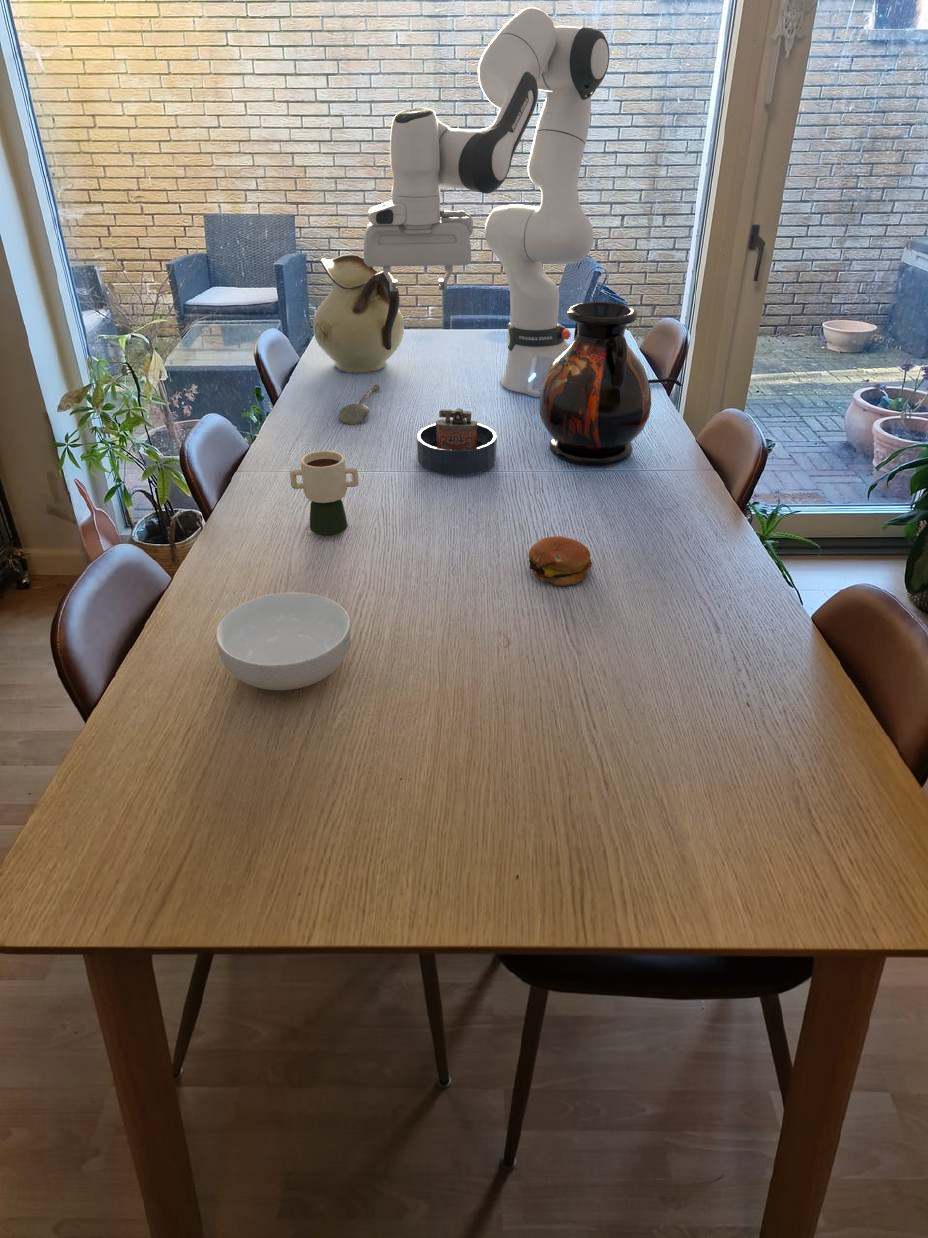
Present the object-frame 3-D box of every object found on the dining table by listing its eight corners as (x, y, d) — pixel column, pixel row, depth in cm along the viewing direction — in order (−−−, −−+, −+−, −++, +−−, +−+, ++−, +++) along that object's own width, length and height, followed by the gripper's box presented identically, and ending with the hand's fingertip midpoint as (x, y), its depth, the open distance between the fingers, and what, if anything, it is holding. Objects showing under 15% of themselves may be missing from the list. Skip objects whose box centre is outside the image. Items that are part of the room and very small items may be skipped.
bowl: (490, 445, 180) (491, 420, 177) (500, 476, 167) (501, 449, 164) (416, 448, 179) (415, 422, 176) (420, 479, 166) (419, 452, 163)
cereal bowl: (294, 727, 106) (288, 680, 102) (195, 682, 113) (186, 637, 109) (379, 657, 118) (376, 613, 114) (284, 621, 125) (279, 578, 122)
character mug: (361, 520, 152) (357, 448, 145) (361, 539, 146) (356, 466, 139) (297, 522, 151) (289, 451, 144) (294, 542, 145) (286, 468, 138)
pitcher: (330, 351, 235) (322, 250, 221) (417, 355, 232) (415, 253, 218) (305, 377, 216) (295, 269, 202) (400, 382, 213) (396, 273, 200)
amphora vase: (520, 440, 183) (526, 299, 167) (615, 428, 188) (628, 291, 173) (562, 481, 165) (572, 329, 150) (664, 467, 171) (684, 319, 156)
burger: (579, 554, 142) (581, 528, 139) (598, 583, 134) (600, 556, 132) (520, 560, 140) (521, 534, 138) (535, 590, 133) (536, 563, 130)
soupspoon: (334, 425, 191) (364, 429, 190) (334, 411, 189) (363, 414, 188) (363, 389, 208) (390, 392, 208) (363, 375, 206) (390, 378, 206)
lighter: (477, 456, 174) (478, 407, 168) (476, 463, 171) (476, 413, 165) (437, 454, 174) (436, 405, 169) (435, 461, 172) (434, 411, 166)
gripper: (471, 207, 165) (470, 285, 172) (361, 209, 163) (365, 287, 171) (474, 213, 160) (474, 292, 167) (361, 214, 158) (365, 295, 166)
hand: (418, 290), depth 169 cm, fingers open, 8 cm apart
